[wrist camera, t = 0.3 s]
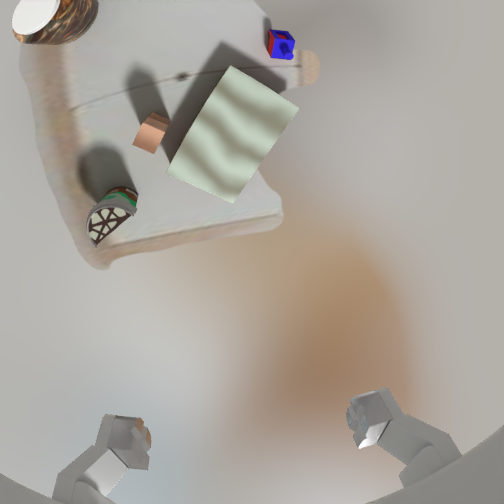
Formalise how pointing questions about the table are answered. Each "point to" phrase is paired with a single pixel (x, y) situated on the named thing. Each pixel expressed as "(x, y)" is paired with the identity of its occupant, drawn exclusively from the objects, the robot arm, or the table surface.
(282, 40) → the toy building block
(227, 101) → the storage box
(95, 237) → the food container
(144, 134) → the tall block
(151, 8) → the table surface
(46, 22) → the jar
